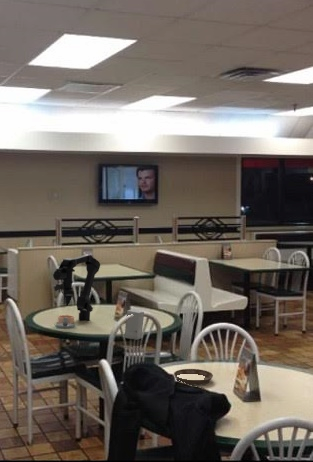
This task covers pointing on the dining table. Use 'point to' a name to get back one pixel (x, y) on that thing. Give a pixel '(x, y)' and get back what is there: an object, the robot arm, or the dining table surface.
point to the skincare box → (134, 325)
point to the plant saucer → (194, 371)
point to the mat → (63, 328)
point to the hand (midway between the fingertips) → (66, 304)
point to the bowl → (70, 318)
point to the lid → (65, 324)
